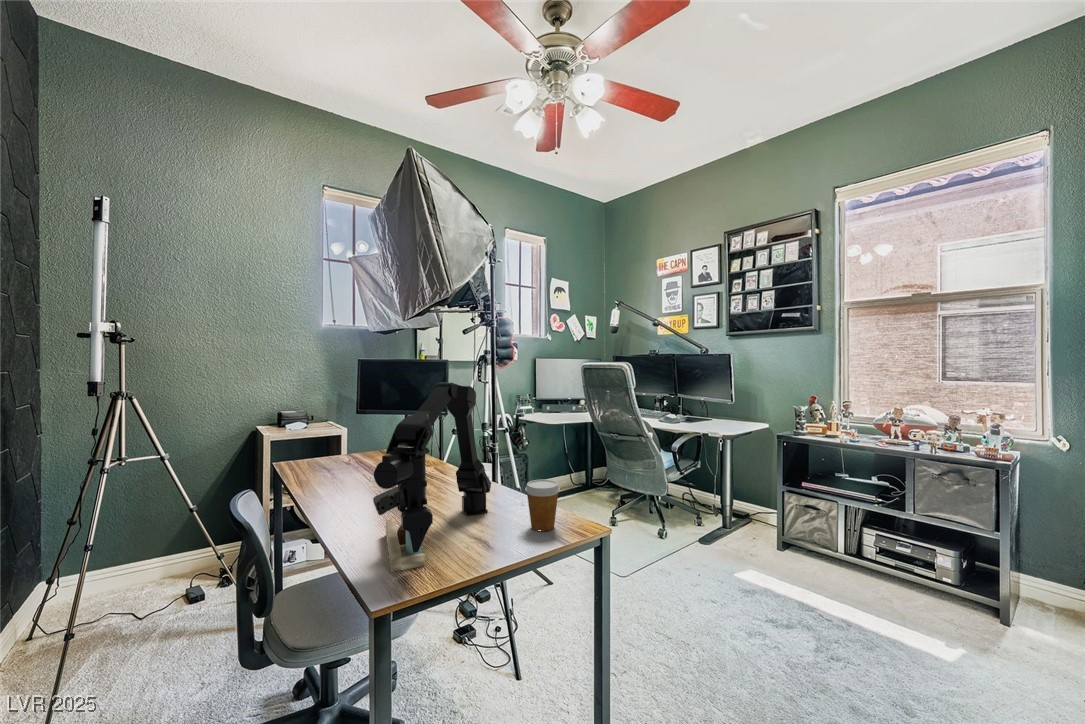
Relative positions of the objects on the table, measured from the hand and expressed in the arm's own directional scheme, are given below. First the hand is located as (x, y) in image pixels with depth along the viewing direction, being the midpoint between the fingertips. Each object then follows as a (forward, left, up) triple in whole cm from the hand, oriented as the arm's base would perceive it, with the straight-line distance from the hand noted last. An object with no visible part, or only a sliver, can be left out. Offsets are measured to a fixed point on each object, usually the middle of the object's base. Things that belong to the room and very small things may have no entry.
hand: (413, 543), depth 101 cm
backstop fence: (+2, -7, -4) cm, 8 cm away
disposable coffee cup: (-35, -6, -4) cm, 36 cm away
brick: (0, -13, -4) cm, 13 cm away
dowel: (0, 0, -4) cm, 4 cm away
